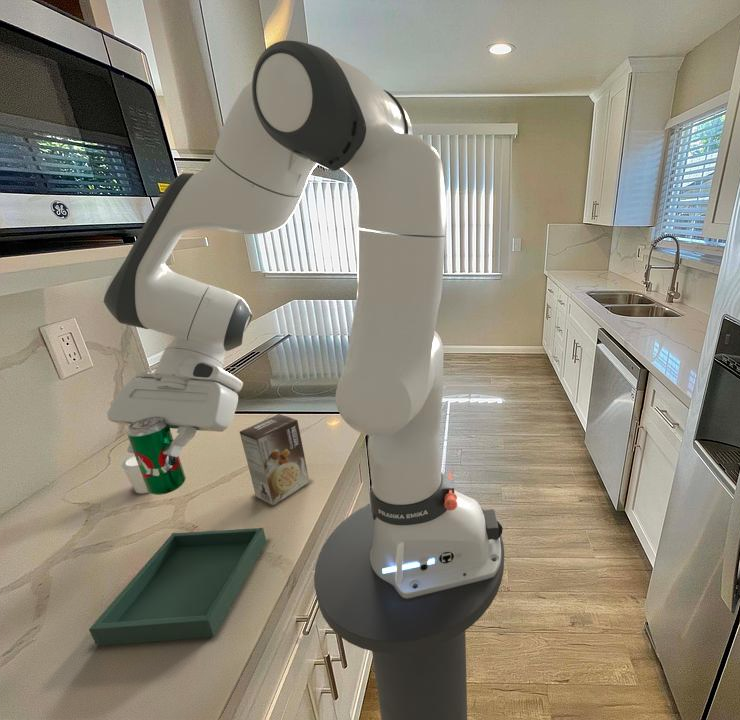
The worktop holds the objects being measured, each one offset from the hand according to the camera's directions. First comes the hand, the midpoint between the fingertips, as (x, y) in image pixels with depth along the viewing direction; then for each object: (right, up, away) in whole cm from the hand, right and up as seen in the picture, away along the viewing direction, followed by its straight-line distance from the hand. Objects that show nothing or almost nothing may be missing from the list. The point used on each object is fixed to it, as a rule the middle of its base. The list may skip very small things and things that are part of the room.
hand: (152, 454), depth 62 cm
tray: (+5, -22, +1) cm, 22 cm away
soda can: (0, -6, +3) cm, 7 cm away
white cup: (-22, -13, +26) cm, 36 cm away
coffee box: (+9, -14, +24) cm, 29 cm away
